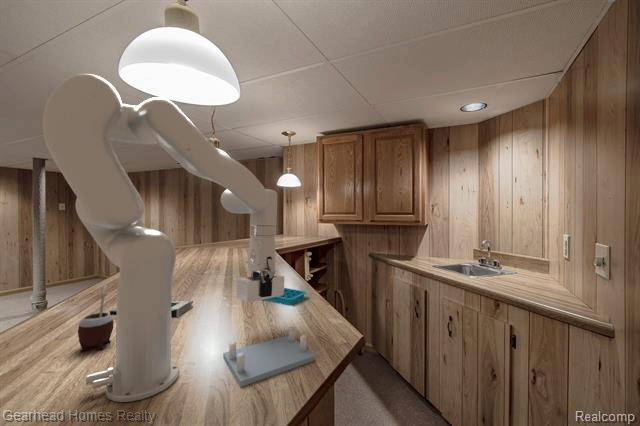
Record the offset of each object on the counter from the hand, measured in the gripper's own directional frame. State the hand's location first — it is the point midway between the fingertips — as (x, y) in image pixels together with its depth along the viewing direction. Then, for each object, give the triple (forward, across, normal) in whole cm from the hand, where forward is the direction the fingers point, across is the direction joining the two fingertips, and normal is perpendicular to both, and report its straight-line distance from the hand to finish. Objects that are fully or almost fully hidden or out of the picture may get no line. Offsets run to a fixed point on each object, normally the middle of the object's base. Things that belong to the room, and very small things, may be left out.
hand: (261, 292), depth 78 cm
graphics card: (+13, -37, -24) cm, 47 cm away
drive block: (+1, 0, 0) cm, 1 cm away
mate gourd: (+13, -16, -38) cm, 43 cm away
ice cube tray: (+12, -27, +19) cm, 35 cm away
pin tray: (+12, +14, -3) cm, 19 cm away
